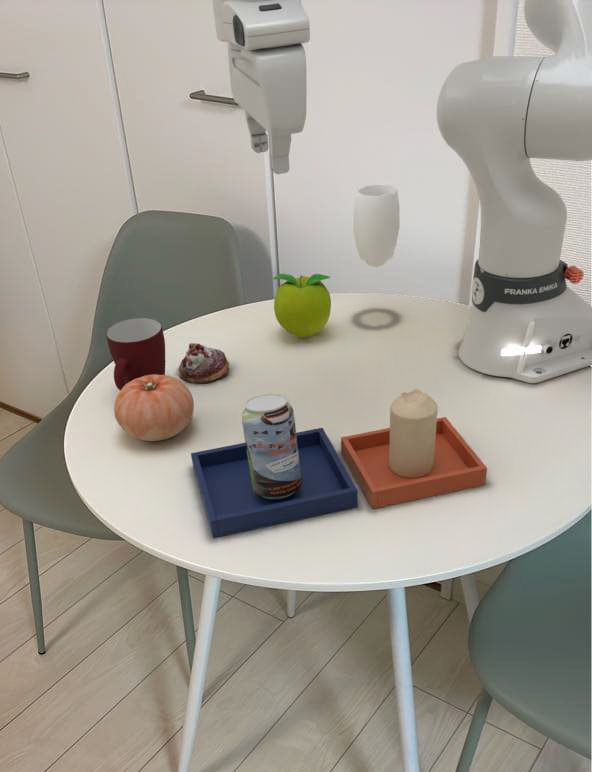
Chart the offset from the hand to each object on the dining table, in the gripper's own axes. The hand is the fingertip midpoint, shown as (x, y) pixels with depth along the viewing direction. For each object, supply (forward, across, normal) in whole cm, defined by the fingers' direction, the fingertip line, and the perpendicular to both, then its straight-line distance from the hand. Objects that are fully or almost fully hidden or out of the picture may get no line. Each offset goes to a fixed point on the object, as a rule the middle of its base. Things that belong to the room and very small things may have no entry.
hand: (269, 161), depth 86 cm
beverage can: (+32, +19, -7) cm, 38 cm away
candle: (+32, +20, +10) cm, 39 cm away
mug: (+33, -12, -20) cm, 40 cm away
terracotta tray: (+33, +20, +10) cm, 40 cm away
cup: (+34, -23, +21) cm, 46 cm away
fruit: (+33, -22, +8) cm, 41 cm away
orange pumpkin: (+33, -1, -19) cm, 38 cm away
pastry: (+33, -16, -10) cm, 38 cm away
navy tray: (+32, +18, -7) cm, 38 cm away
